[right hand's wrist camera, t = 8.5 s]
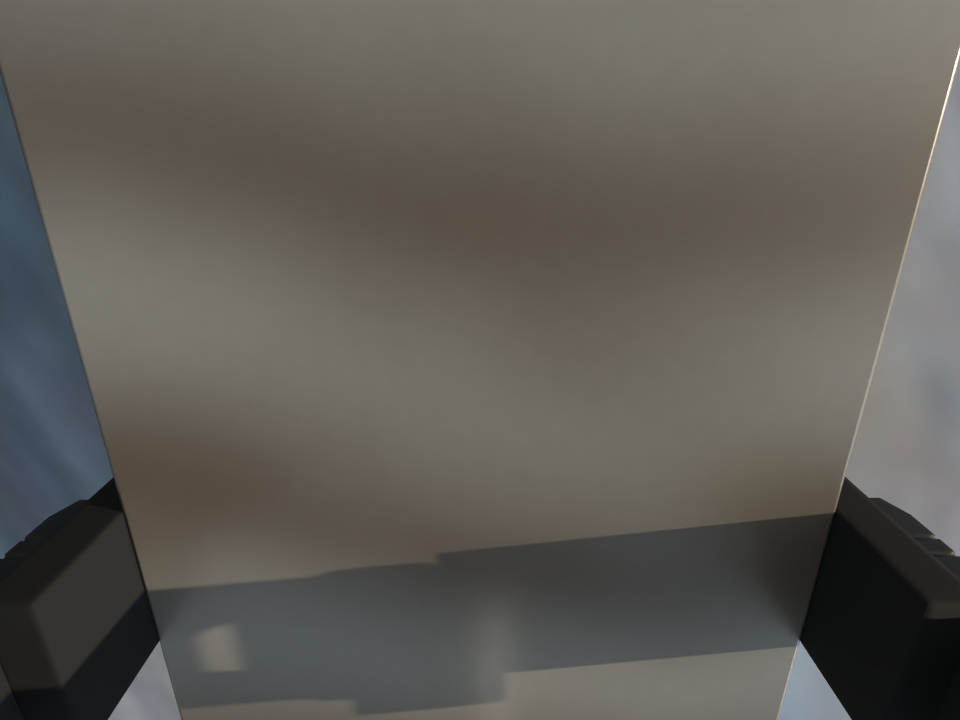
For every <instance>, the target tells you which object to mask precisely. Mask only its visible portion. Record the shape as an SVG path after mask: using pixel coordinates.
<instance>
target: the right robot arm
mask: <svg viewBox="0 0 960 720" xmlns="http://www.w3.org/2000/svg"><path fill="white" fill-rule="evenodd" d="M800 641H801V643H802V644H803V646H804V647H805V649H806V650H807V652H808V653H809V655H810V656H811V658H812V659H813V661H814V663H815V664H816V666H817V667H818V669H819V670H820V672H821V673H822V675H823V676H824V678H825V679H826V681H827V682H828V684H829V685H830V687H831V688H832V690H833V692H834V693H835V695H836V696H837V698H838V699H839V701H840V702H841V704H842V705H843V707H844V708H845V710H846V711H847V713H848V714H849V716H850V718H851V719H852V720H960V557H956V556H955V552H954V551H953V550H952V549H951V548H949V547H948V546H947V545H946V544H945V543H943V542H942V541H941V540H940V539H935V535H934V534H933V533H932V532H930V531H929V530H928V529H927V528H926V527H924V526H923V525H922V524H921V523H920V522H919V521H917V520H916V519H915V518H914V517H913V516H911V515H910V514H908V513H906V512H904V511H903V510H901V509H899V508H897V507H895V506H893V505H892V504H890V503H888V502H886V501H884V500H883V499H881V498H868V497H867V496H866V495H865V494H864V493H863V492H862V491H860V490H859V489H858V488H857V487H856V486H855V485H854V484H853V483H851V482H850V481H849V480H848V479H847V478H846V477H845V478H844V482H843V485H842V489H841V493H840V496H839V500H838V504H837V507H836V511H835V515H834V518H833V522H832V525H831V529H830V533H829V536H828V540H827V544H826V547H825V551H824V555H823V558H822V562H821V566H820V569H819V573H818V576H817V580H816V584H815V587H814V591H813V595H812V598H811V602H810V606H809V609H808V613H807V617H806V620H805V624H804V628H803V631H802V635H801V638H800ZM158 642H159V637H158V633H157V630H156V626H155V622H154V619H153V615H152V612H151V608H150V605H149V601H148V597H147V594H146V590H145V587H144V583H143V580H142V576H141V572H140V569H139V565H138V562H137V558H136V555H135V551H134V547H133V544H132V540H131V537H130V533H129V530H128V526H127V522H126V519H125V515H124V512H123V508H122V505H121V501H120V497H119V494H118V490H117V487H116V483H115V480H114V478H112V479H111V480H110V481H109V482H108V483H107V484H106V485H105V486H103V487H102V488H101V489H100V490H99V491H98V492H97V493H96V494H94V495H93V496H92V497H91V498H90V499H89V500H79V501H77V502H75V503H74V504H72V505H70V506H68V507H66V508H65V509H63V510H61V511H59V512H57V513H55V514H54V515H52V516H50V517H49V518H47V519H46V520H45V521H44V522H43V523H41V524H40V525H39V526H38V527H37V528H36V529H34V530H33V531H32V532H31V533H30V534H28V535H27V536H26V537H25V541H20V542H19V543H18V544H17V545H16V546H14V547H13V548H12V549H11V550H10V551H8V552H7V553H6V554H5V558H4V559H0V720H108V718H109V717H110V715H111V714H112V712H113V711H114V709H115V707H116V706H117V704H118V703H119V701H120V700H121V698H122V697H123V695H124V694H125V692H126V691H127V689H128V688H129V686H130V685H131V683H132V682H133V680H134V678H135V677H136V675H137V674H138V672H139V671H140V669H141V668H142V666H143V665H144V663H145V662H146V660H147V659H148V657H149V656H150V654H151V653H152V651H153V649H154V648H155V646H156V645H157V643H158Z"/></svg>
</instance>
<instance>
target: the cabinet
mask: <svg viewBox="0 0 960 720" xmlns="http://www.w3.org/2000/svg"><path fill="white" fill-rule="evenodd" d="M959 59H960V0H0V73H1V76H2V80H3V83H4V87H5V91H6V94H7V98H8V101H9V105H10V108H11V112H12V116H13V119H14V123H15V126H16V130H17V133H18V137H19V141H20V144H21V148H22V151H23V155H24V158H25V162H26V166H27V169H28V173H29V176H30V180H31V183H32V187H33V191H34V194H35V198H36V201H37V205H38V208H39V212H40V216H41V219H42V223H43V226H44V230H45V233H46V237H47V240H48V244H49V248H50V251H51V255H52V258H53V262H54V265H55V269H56V273H57V276H58V280H59V283H60V287H61V290H62V294H63V298H64V301H65V305H66V308H67V312H68V315H69V319H70V323H71V326H72V330H73V333H74V337H75V340H76V344H77V348H78V351H79V355H80V358H81V362H82V365H83V369H84V373H85V376H86V380H87V383H88V387H89V390H90V394H91V398H92V401H93V405H94V408H95V412H96V415H97V419H98V423H99V426H100V430H101V433H102V437H103V440H104V444H105V448H106V451H107V455H108V458H109V462H110V465H111V469H112V473H113V476H114V480H115V483H116V487H117V490H118V494H119V497H120V501H121V505H122V508H123V512H124V515H125V519H126V522H127V526H128V530H129V533H130V537H131V540H132V544H133V547H134V551H135V555H136V558H137V562H138V565H139V569H140V572H141V576H142V580H143V583H144V587H145V590H146V594H147V597H148V601H149V605H150V608H151V612H152V615H153V619H154V622H155V626H156V630H157V633H158V637H159V640H160V644H161V647H162V651H163V655H164V658H165V662H166V665H167V669H168V672H169V676H170V680H171V683H172V687H173V690H174V694H175V697H176V701H177V705H178V708H179V712H180V715H181V719H182V720H778V719H779V715H780V711H781V708H782V704H783V700H784V697H785V693H786V690H787V686H788V682H789V679H790V675H791V671H792V668H793V664H794V660H795V657H796V653H797V649H798V646H799V642H800V638H801V635H802V631H803V628H804V624H805V620H806V617H807V613H808V609H809V606H810V602H811V598H812V595H813V591H814V587H815V584H816V580H817V576H818V573H819V569H820V566H821V562H822V558H823V555H824V551H825V547H826V544H827V540H828V536H829V533H830V529H831V525H832V522H833V518H834V515H835V511H836V507H837V504H838V500H839V496H840V493H841V489H842V485H843V482H844V478H845V474H846V471H847V467H848V463H849V460H850V456H851V453H852V449H853V445H854V442H855V438H856V434H857V431H858V427H859V423H860V420H861V416H862V412H863V409H864V405H865V402H866V398H867V394H868V391H869V387H870V383H871V380H872V376H873V372H874V369H875V365H876V361H877V358H878V354H879V350H880V347H881V343H882V340H883V336H884V332H885V329H886V325H887V321H888V318H889V314H890V310H891V307H892V303H893V299H894V296H895V292H896V288H897V285H898V281H899V278H900V274H901V270H902V267H903V263H904V259H905V256H906V252H907V248H908V245H909V241H910V237H911V234H912V230H913V227H914V223H915V219H916V216H917V212H918V208H919V205H920V201H921V197H922V194H923V190H924V186H925V183H926V179H927V175H928V172H929V168H930V165H931V161H932V157H933V154H934V150H935V146H936V143H937V139H938V135H939V132H940V128H941V124H942V121H943V117H944V113H945V110H946V106H947V103H948V99H949V95H950V92H951V88H952V84H953V81H954V77H955V73H956V70H957V66H958V62H959Z"/></svg>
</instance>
